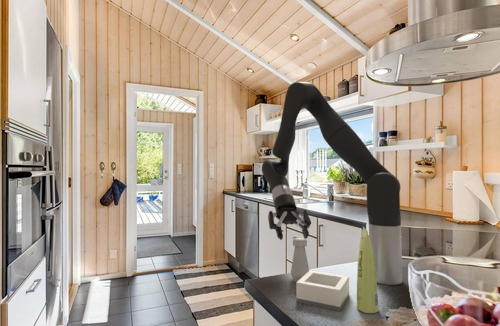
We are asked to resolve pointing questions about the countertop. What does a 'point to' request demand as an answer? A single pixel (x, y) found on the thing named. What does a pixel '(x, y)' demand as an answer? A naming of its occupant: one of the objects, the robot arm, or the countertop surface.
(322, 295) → the socket dock
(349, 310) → the countertop surface
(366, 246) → the tube
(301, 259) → the salt shaker
